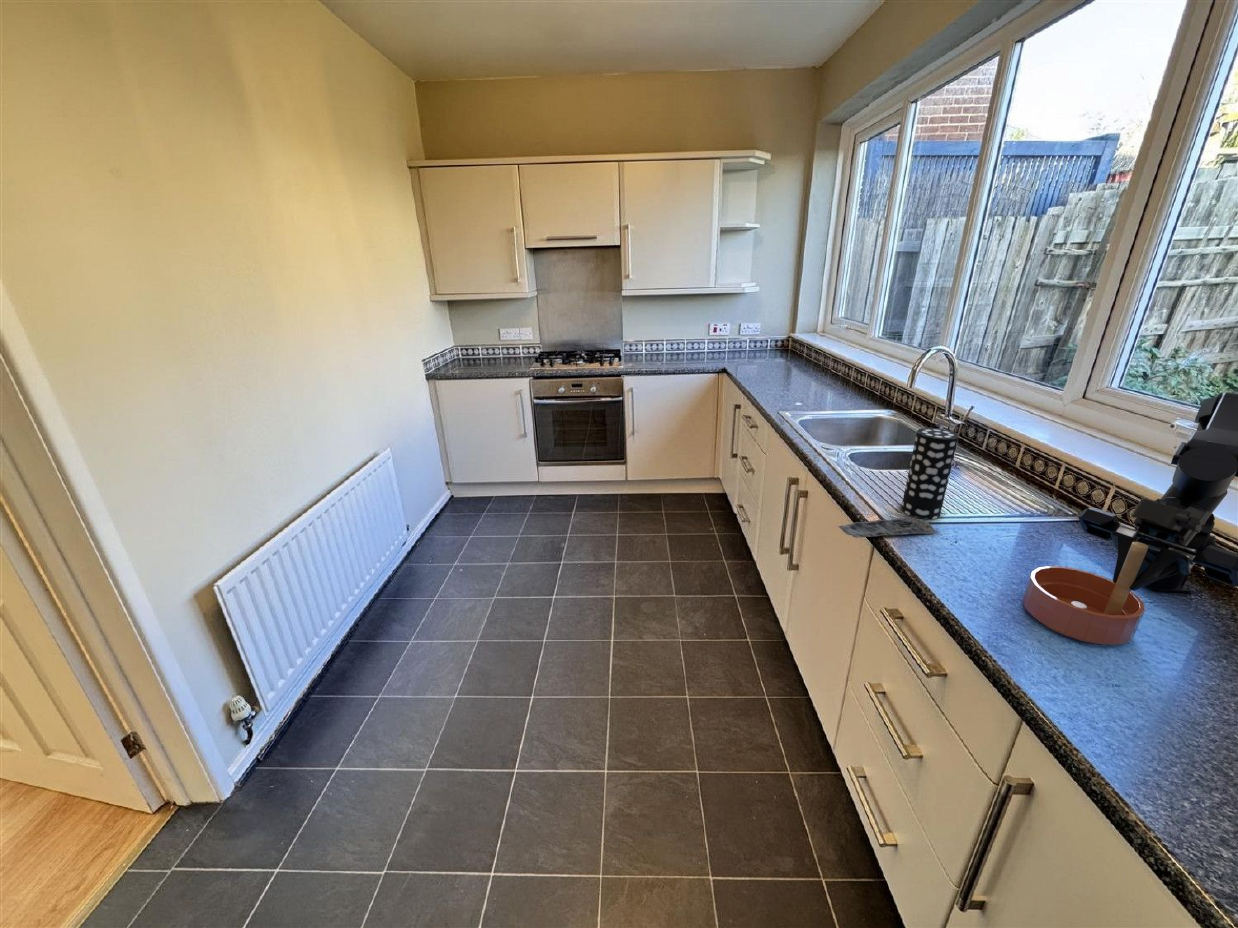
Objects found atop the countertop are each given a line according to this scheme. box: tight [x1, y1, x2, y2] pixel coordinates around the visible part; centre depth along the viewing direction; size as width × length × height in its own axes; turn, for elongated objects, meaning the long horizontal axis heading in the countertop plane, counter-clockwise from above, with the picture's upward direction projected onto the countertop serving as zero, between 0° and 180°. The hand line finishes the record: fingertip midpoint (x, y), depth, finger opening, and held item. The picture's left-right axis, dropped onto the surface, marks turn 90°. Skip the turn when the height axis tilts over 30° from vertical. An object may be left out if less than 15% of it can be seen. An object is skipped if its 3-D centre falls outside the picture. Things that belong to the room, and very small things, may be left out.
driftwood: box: [838, 517, 937, 539], centre depth 115 cm, size 21×7×2 cm, turn 96°
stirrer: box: [1061, 542, 1149, 615], centre depth 83 cm, size 10×2×15 cm, turn 34°
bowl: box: [1021, 565, 1146, 646], centre depth 85 cm, size 14×14×6 cm
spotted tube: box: [900, 427, 960, 520], centre depth 120 cm, size 8×8×20 cm
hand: (1122, 585), depth 80 cm, fingers closed on stirrer, 2 cm apart
